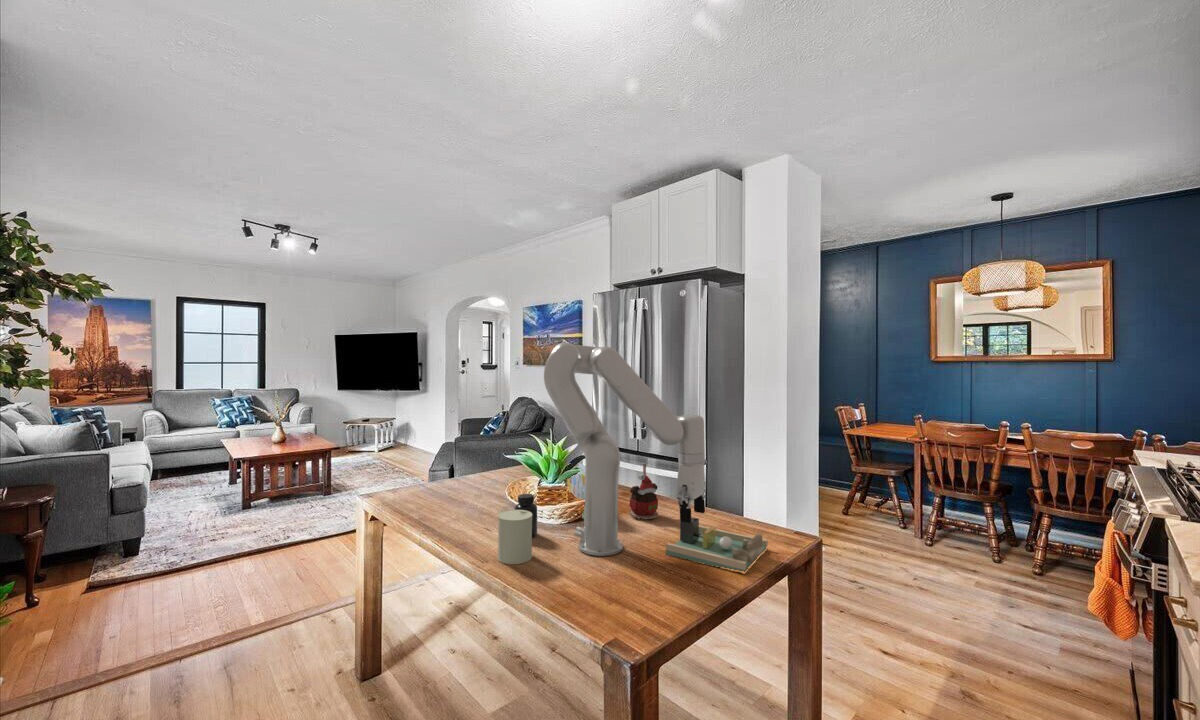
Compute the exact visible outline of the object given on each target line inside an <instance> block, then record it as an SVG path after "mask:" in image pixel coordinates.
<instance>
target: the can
mask: <svg viewBox="0 0 1200 720" xmlns="http://www.w3.org/2000/svg"><path fill="white" fill-rule="evenodd" d="M497 519H498V539H497V540H498V541H497V543H498V547H497V549H498V550H497V560H498V562H500V563H501V562H502V563H501V564H504V563H505V565H520V563H521V564H525V563H528V562H529V561H531V560H532V559H533V553H532V552H533V548H532V545H533V543H532V541H533V538H532V513H531V512H529V511H526V510H515V509H510V510H504V511H502V512H500V513H499V514H498V515H497Z"/></svg>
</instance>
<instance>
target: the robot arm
mask: <svg viewBox="0 0 1200 720" xmlns="http://www.w3.org/2000/svg"><path fill="white" fill-rule="evenodd" d="M576 374H582V375H583V374H585V375H593V376H594V375H597V376H598V377H599V378H600V379H601V380H602V381H603V382H604V384H605V385H606V386H607V387H608V388H609V389H610V390H611V392H612V393H613V394H614V395H615V396H616V397H617V398H618V400H619V401H620V402H621V403H622V404H623V405H624V406H625V407H626V408H628V410H630V411H631V412H633V413H634V414H635V415H636V416H637V417H638V418H639V419H640V420H642V421H643V423H644V424H645V425H646V426H647V427H648V428H649V430H650V434H651V435H652V437H654V438H655V439H656V440H657V441H659V442H660V443H662V444H664V445H665V446H675V445H677V448H678V449H677V452H678V455H677V456H678V458H677V459H678V470H677V479H676V486H677V487H676V496H677V501H678V502H677V503H678V508H679V520H680V521H681V522H687V523H691V517H692V508H691V504H692V501H693V508H694V509H693V510H694V513H700V514H704V513H705V512H706V508H705V507H706V506H705V505H706V504H705V501H706V500H705V499H706V495H705V494H706V483H707V482H706V479H705V476H706V475H705V467H704V465H705V464H706V460H705V459H706V453H705V445H706V444H705V420H704V417H702V416H701V415H698V414H685V415H683V414H682V415H674V413H673V412H672V411H671V410H670V408H668V406H667V405H666V404H665V402H663V401H662V400H661V399H660V398H659V397H658V396H657V395H656V393H654V392H653V390H652V389H651V388H650V387H649V386H648V385H647V384H646V383H645V382H644V380H643V379H642V378H641V377H640V376H639V374H637V372H636V371H635V370H634V369H633V368H632V367H631V366H630V365H629V363H628V362H627V361H626V360H625V359H624V358H623V357H622V356H621V354H620V353H619V352H618V351H617V350H615V348H613V347H610V346H591V345H582V344H573V343H571V342H560V343H559V344H557V345H555V346H554V347H553V348H552V350H551V352H550V354H549V356H548V358H547V360H546V362H545V365H544V370H543V381H544V386H545V389H546V392H547V393H548V396H549V397H550V399H551V401H552V403H553V405H554V406H555V408H556V410H557V411H558V413H559V415H560V417H561V418H562V420H563V421H564V424H565V427H566V429H567V430H568V431H569V432H570V434H571V436H572V438H573V439H574V442H575V443H577V446H578V448H579V449H580V451H581V452H582V454H583V455H584V457H585V460H584V461H585V465H584V466H585V509H584V519H583V521H584V522H583V524H584V525H583V527H581V526H576V528H575V531H574V532H573V535H574V536H576V537H580V541H579V542H578V550H579V551H580V552H581V553H583V554H585V555H588V556H593V557H594V556H595V557H608V556H613V555H617V554H618V553H619V554H620V552H622V550H624V544H623V542H622V541H621V540H620V539H619V537H618V536H619V535H618V533H619V532H618V529H619V528H618V527H619V475H620V465H621V464H620V463H621V454H620V449H619V446H618V444H617V443H616V442H615V440H614V439H613V438H612V437H611V435H609V433H608V431H607V429H606V428H605V426H604V425H603V424H602V422H601V420H600V418H599V417H598V413H597V412H596V410H595V408H594V407H593V406H592V405H591V403H590V402H589V401H588V399H587V398H586V395H584V393H583V391H582V389H581V387H580V386H579V384H578V382H577V380H576V376H575V375H576ZM686 501H687V502H686Z"/></svg>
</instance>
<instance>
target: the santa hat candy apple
mask: <svg viewBox="0 0 1200 720" xmlns="http://www.w3.org/2000/svg"><path fill="white" fill-rule="evenodd" d="M646 473H647V464H646V463H642V473H638V475H637V478H638V480H641V483H640V486H639V485H633V486H632V487H631V488H630V491H629V492H630V495H631V497H630V498H629V508H630V509H631V510H629V515H630V517H632V518H634V519H636V518H637V519H639V520H641V519H642V520H651V519H655V518H657V517H658V515H659V514H658V513H659V512H658V511H657V510H658V508H659V499H658V498H657V497H658V496H657V494H656V491H657V490H658V484H657V483H654V482H653V480H651V479H650V477H649V476H648V475H647V474H646ZM640 518H641V519H640Z"/></svg>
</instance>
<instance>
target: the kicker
mask: <svg viewBox="0 0 1200 720" xmlns="http://www.w3.org/2000/svg"><path fill="white" fill-rule="evenodd" d="M679 524H680V525H679V528H680V529H679V534H680V535H679V541H684V542H688V543H692V544H693V543H695V542H696V541H697V540H699V537H700V538H703V548H706V549H707V548H708V547H709V546H711V545H712V544H713V543H714V542H715V529H717V528H716V526H709V529H707V530H706V531H704V532H703V534H702V533H699V525H700V518H696V517H692V516H691V523H687V522H681V521H680V523H679Z"/></svg>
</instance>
